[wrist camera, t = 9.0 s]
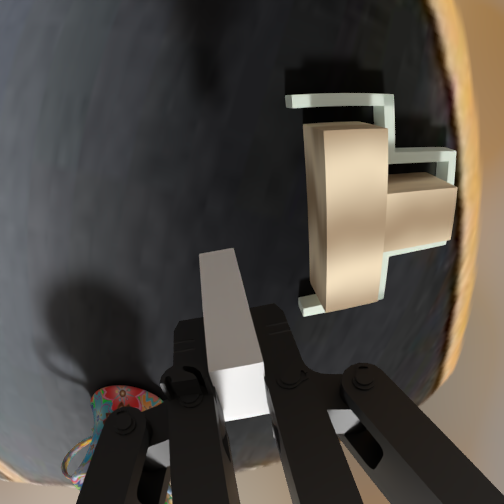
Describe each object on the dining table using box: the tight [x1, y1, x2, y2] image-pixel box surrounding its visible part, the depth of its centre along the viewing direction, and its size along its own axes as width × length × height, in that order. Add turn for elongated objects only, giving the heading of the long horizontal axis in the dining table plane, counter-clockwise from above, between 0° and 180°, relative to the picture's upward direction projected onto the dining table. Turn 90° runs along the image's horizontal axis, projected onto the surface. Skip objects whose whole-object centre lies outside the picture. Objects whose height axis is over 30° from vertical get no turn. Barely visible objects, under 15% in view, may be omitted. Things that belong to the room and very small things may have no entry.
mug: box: [61, 385, 172, 504], centre depth 24 cm, size 12×9×11 cm
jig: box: [285, 93, 456, 317], centre depth 22 cm, size 16×13×2 cm
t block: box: [303, 121, 457, 313], centre depth 21 cm, size 12×10×4 cm
